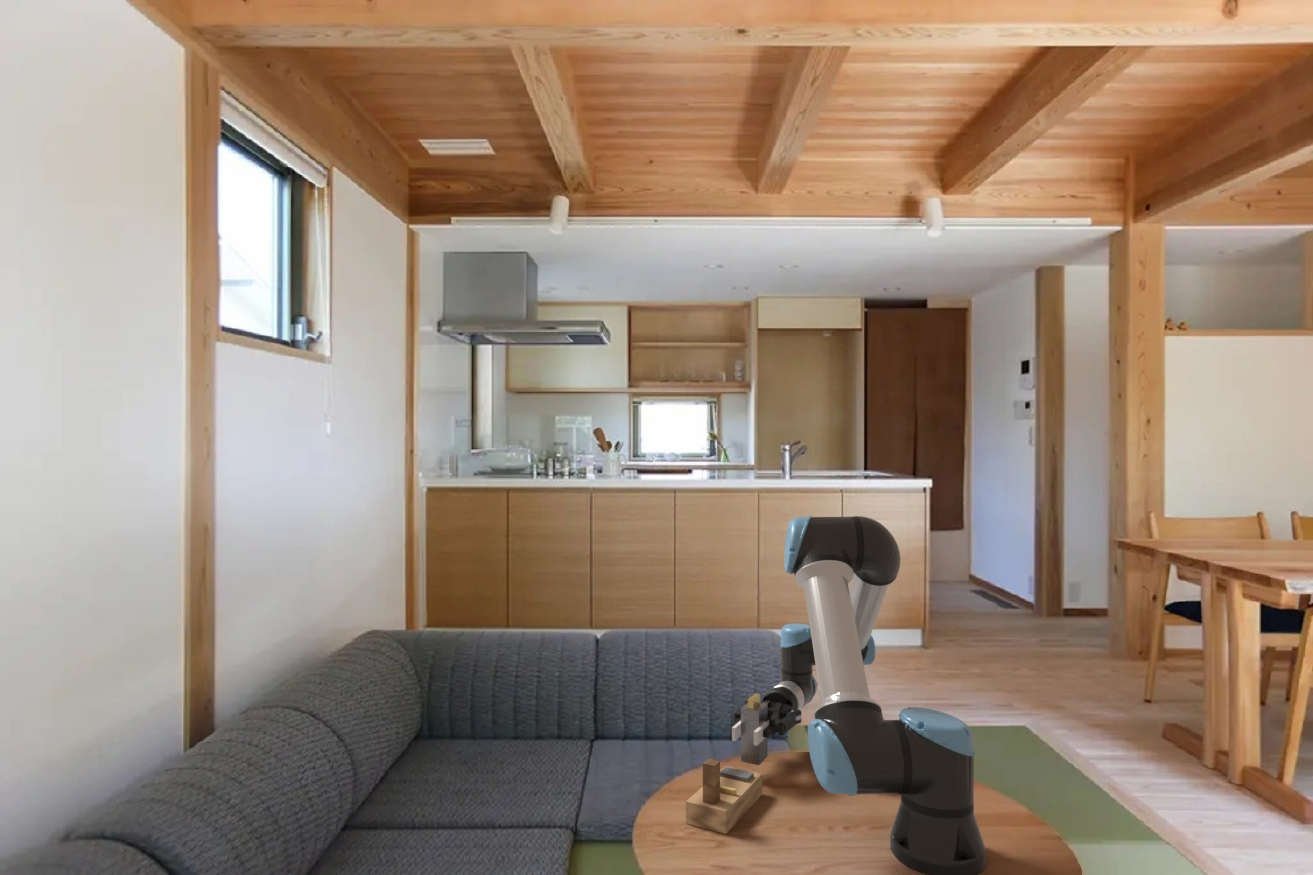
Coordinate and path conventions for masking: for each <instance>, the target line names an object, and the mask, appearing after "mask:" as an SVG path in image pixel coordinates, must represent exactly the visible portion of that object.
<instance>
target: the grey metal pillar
mask: <svg viewBox="0 0 1313 875" xmlns="http://www.w3.org/2000/svg"><path fill="white" fill-rule="evenodd" d="M747 701H748V703H747V704H745V703H744V704H745V705H744V704H743V705H744V706H743V705H742V706H743V707H742V706H741V707H742V708H741V707H740V708H741V737H740V762H742V763H747V764H752V765H755V766H760V765H761V764H762V763H763V762H764V761H765V760H766V759H767V758H769V757H768V752H769V751H768V748H769V746H768V740H769V739H768V738H769V737H768V738H765V739H764V740H763V741H762V742H761V743H759V744H758V745H757V746H756V745H754V731H755V730H756V729H757V728H758V727H759V726H760V725H762V724H763V723H764V722H765V721H766V722H768V720H767V704H764V703H760V702H761V694H760V693H755V692H754V694H753V695H751V696H750V697H749V698H747Z"/></svg>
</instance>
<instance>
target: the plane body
mask: <svg viewBox="0 0 1313 875" xmlns="http://www.w3.org/2000/svg"><path fill="white" fill-rule="evenodd" d="M762 795H763V773H760V772H756V771H751V770H745V769H741V768H737V767H731V766H728V765H727V766H726V765H725V766H724V767H722V769H721V761H720V760H716V759H712V758H707V759H706V760H705V761H704V762H702V786H701V787H700V788H699V789H698V790H697V791H696V792H695V793H693V795H691V796H690V797H689V798H688V799H687V800H686V801H685V824H686V825H690V826H694V827H699V828H702V829H706V830H710V831H713V832H716V833H720V834H724V835H727V834H728V833H729V831H730V830H731V829H733V827H734V826H735V825H736V824H737V823H738V822H739V820H741V819H742V817H744V815H745V814H746V813H747V812H748V811H749V810H750V808H752V806H753V805H754V804H755V803H756V802H757V801H758V800H759V799H760V798H761V796H762Z"/></svg>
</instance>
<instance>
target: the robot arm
mask: <svg viewBox="0 0 1313 875" xmlns="http://www.w3.org/2000/svg"><path fill="white" fill-rule="evenodd" d="M899 548H900V547H899V545H898V543H897V541H896V539H895V537H894V535H893V534H892V532H890V531H889V530H888V528H887V527H885V526H884V525H883V523H880V522H879V521H877V520H876V519H873V518H870V517H867V516H857V515H855V516H812V515H808V516H796V517H793V518H791V519H790V521H789V522H788V525H787V529H786V535H785V543H784V555H783V556H784V557H783V559H784V560H783V564H784V566H783V567H784V570H785V571H784V572H785V573H786V574H789V575H794V581H795V584H796V585H797V586H798V587H799V588H801V589H802V590H804V595H805V596H804V597H805V604H806V610H807V617H808V623H809V624H806V623H794V622H793V623H788V624H784V625H783V626H782V628H781V633H780V645H779V646H780V682H779V683H777V685H775V686H774V687H772V688H771V690H769V691H767V693H766V694H765V695H764V696H763V698H762V700H761V701H760V703H764V704H767V722H766V721H765V722H764V723H763V724H762V725H760V726H759V727H758V728H757V729H756V730H755V731H754V745H756V746H757V745H758V744H759V743H761V742H762V741H763V740H764V739H765V738H770V737H771V736H774V735H775V734H776V733H778V735H779V736H785V735H786V734H787V733H788V732H790V731H791V729H793V727H795V726H796V725H800V724H801V723H802V709H803V708H804V707H805V706H806V705H807V704H809V703H811V701H812V700H813V698H814V697H815V695H816V693H817V690H819V696H820V705H819V706H817V708H816V710H815V711H814V719H813V720H810V721H809V723H808V725H807V741H808V751H809V752H808V753H809V755H810V756H809V758H810V761H811V766H812V768H813V772H814V774H815V776H816V779H817V781H818V783H819V784H820V786H821V787H822V788H823V789H824V791H825V792H828V793H830V794H834V795H835V794H836V795H848V796H850V797H853V796H856V795H900V803H899V807H898V808H897V812H896V816H895V818H894V821H893V824H892V827H891V830H890V834H889V836H890V840H889V842H890V850H891V853H892V854H893V855H894V857H895V858H896V859H897V860H899V862H901V863H902V864H904V865H906V866H907V867H909V868H911V869H913V870H915V871H918V872H920V873H923V874H927V875H977V874H979V873H981V872H982V871H983V870H984V869H985V867H986V864H987V862H986V861H987V857H986V856H987V855H986V853H987V852H986V851H987V850H986V846H985V842H984V840H983V837H982V833H981V831H980V827H979V824H978V822H977V819H976V816H975V806H974V805H975V802H974V801H975V800H974V798H975V797H974V796H975V794H974V793H975V792H974V790H975V788H974V787H975V786H974V784H975V783H974V782H975V780H974V778H975V776H974V774H975V772H974V771H975V769H974V765H975V764H974V762H975V758H974V756H975V751H974V743H973V741H974V740H973V739H974V738H973V733H972V730H971V728H970V726H969V725H968V724H967V723H966V722H964V721H963V720H961V719H960V718H958V717H955V716H954V715H952V714H948V713H945V712H943V711H939V710H935V709H931V708H925V707H919V706H918V707H913V706H909V707H907V708H906V707H905V708H902V709H901V710H900V713H899V715H898V718H899V719H884V716H883V710H882V707H881V704H879V703H878V702H876V701H875V700H874V699H872V698H871V696H870V695H871V694H870V690H869V686H868V679H867V676H866V669H865V666H869V665H872V664H873V663H874V661H875V659H876V644H875V640H874V637H873V635H872V632H873V630H874V627H875V624H876V620H877V618H878V616H879V614H880V613H879V612H880V609H881V606H882V604H883V601H884V599H885V595H886V593H887V590H888V587H889V586H890V585H891V584H892V583H894V582H895V581H896V579H897V577H898V575H899V571H900V568H901V552H900V549H899ZM849 583H850V584H849ZM849 585H850V586H849ZM814 666H815V669H816V670H815V671H816V676H817V680H816V678H815V677H814V675H813V667H814ZM747 703H748V700H745V701H744V704H743V705H742V706H740V707H739V708H738V709H737V710H736V711H735V712H734V713H733V714H732V715H733V718H732V720H733V722H732V723H733V726H731V742H736V741H738V740H739V739H741V708H742V707H743V706H744V705H745V704H747Z"/></svg>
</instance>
